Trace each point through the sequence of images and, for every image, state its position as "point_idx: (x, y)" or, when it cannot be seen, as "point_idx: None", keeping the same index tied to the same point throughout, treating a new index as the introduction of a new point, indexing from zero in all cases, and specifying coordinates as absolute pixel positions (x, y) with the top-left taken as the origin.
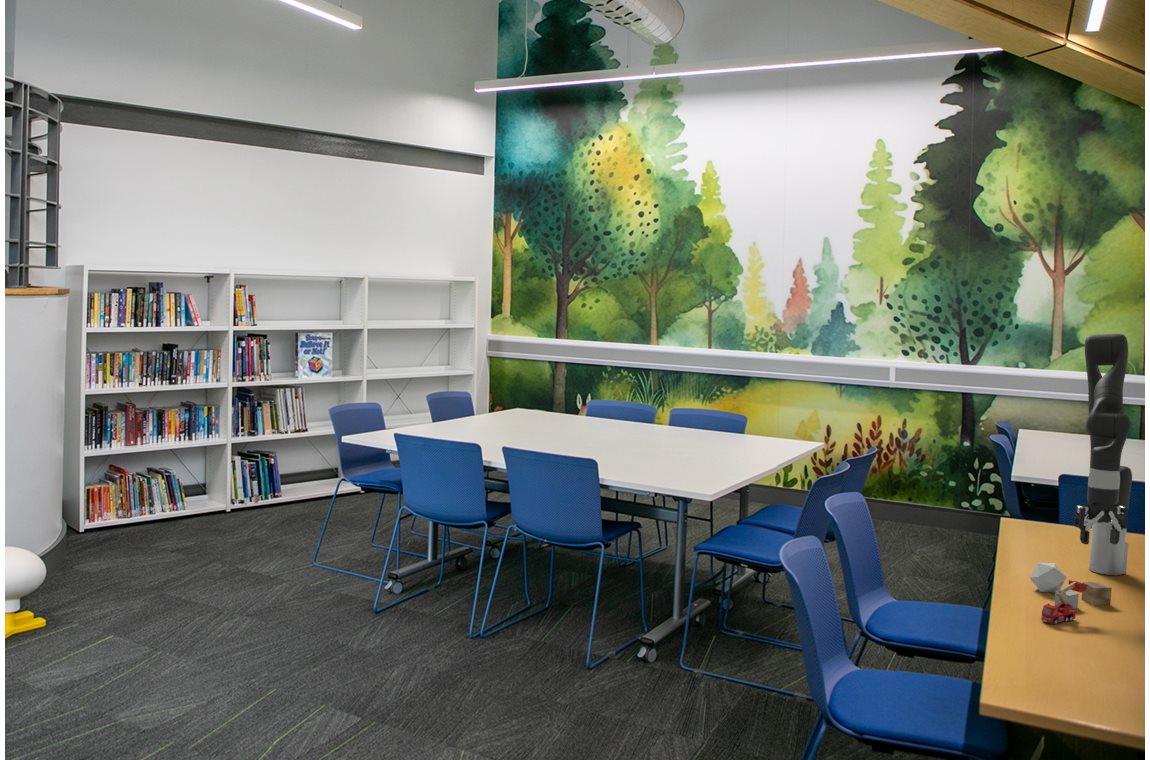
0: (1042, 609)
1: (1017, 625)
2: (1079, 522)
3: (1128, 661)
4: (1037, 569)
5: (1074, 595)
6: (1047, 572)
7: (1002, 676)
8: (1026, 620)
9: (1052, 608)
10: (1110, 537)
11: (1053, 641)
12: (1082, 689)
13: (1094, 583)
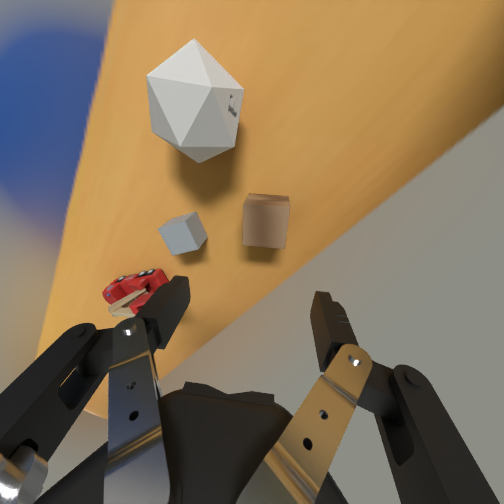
0: (104, 289)
1: (80, 283)
2: (62, 391)
3: (163, 370)
4: (149, 104)
5: (187, 251)
6: (168, 140)
7: None
8: (97, 271)
9: (111, 304)
10: (321, 307)
11: (109, 327)
12: (98, 389)
13: (267, 216)
